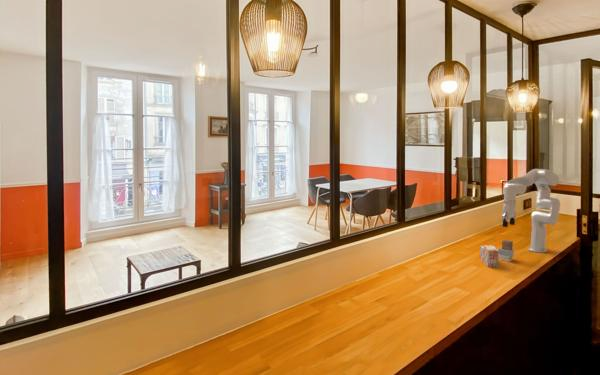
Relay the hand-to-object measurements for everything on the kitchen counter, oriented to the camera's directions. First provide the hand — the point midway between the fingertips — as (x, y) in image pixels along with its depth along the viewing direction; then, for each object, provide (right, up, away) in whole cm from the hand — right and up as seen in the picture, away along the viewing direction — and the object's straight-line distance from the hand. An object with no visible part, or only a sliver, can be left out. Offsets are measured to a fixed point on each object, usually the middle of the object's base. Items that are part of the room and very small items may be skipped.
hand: (508, 225), depth 273 cm
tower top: (0, -21, +3) cm, 21 cm away
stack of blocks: (-16, -26, -3) cm, 31 cm away
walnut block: (0, -17, +2) cm, 17 cm away
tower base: (0, -25, +3) cm, 25 cm away
